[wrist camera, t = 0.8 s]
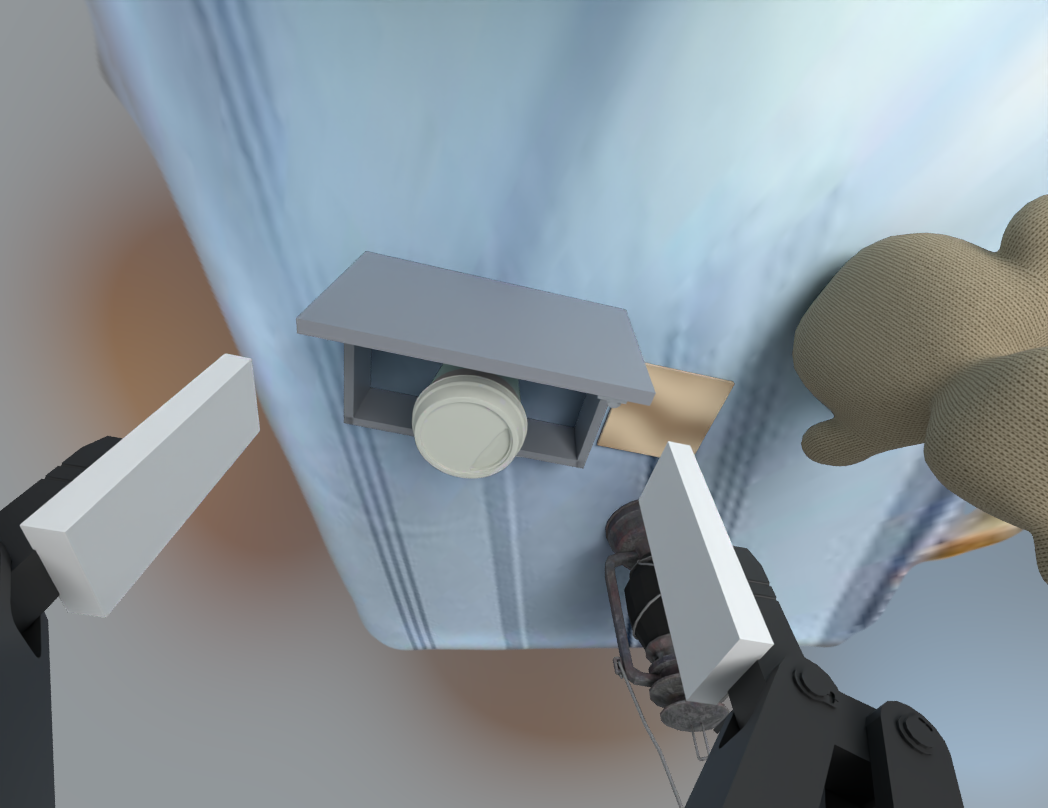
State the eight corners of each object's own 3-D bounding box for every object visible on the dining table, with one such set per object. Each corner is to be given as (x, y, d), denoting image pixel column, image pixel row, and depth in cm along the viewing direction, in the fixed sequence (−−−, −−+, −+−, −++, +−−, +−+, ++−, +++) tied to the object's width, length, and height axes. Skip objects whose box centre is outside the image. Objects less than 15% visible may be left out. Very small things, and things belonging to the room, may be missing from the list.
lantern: (594, 557, 59) (631, 902, 34) (600, 496, 53) (650, 861, 28) (695, 558, 58) (807, 910, 34) (713, 497, 52) (864, 870, 28)
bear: (862, 433, 47) (1117, 711, 26) (725, 379, 44) (895, 648, 23) (1072, 234, 36) (1796, 448, 15) (909, 141, 32) (1553, 255, 12)
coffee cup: (462, 407, 47) (441, 495, 37) (420, 334, 42) (383, 411, 32) (544, 381, 45) (544, 467, 35) (508, 301, 40) (497, 373, 30)
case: (365, 251, 38) (296, 317, 27) (625, 309, 40) (655, 393, 29) (361, 397, 46) (306, 492, 36) (578, 439, 48) (587, 541, 38)
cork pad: (630, 359, 43) (631, 361, 43) (733, 381, 44) (734, 383, 43) (597, 442, 48) (597, 445, 48) (688, 460, 49) (689, 463, 49)
